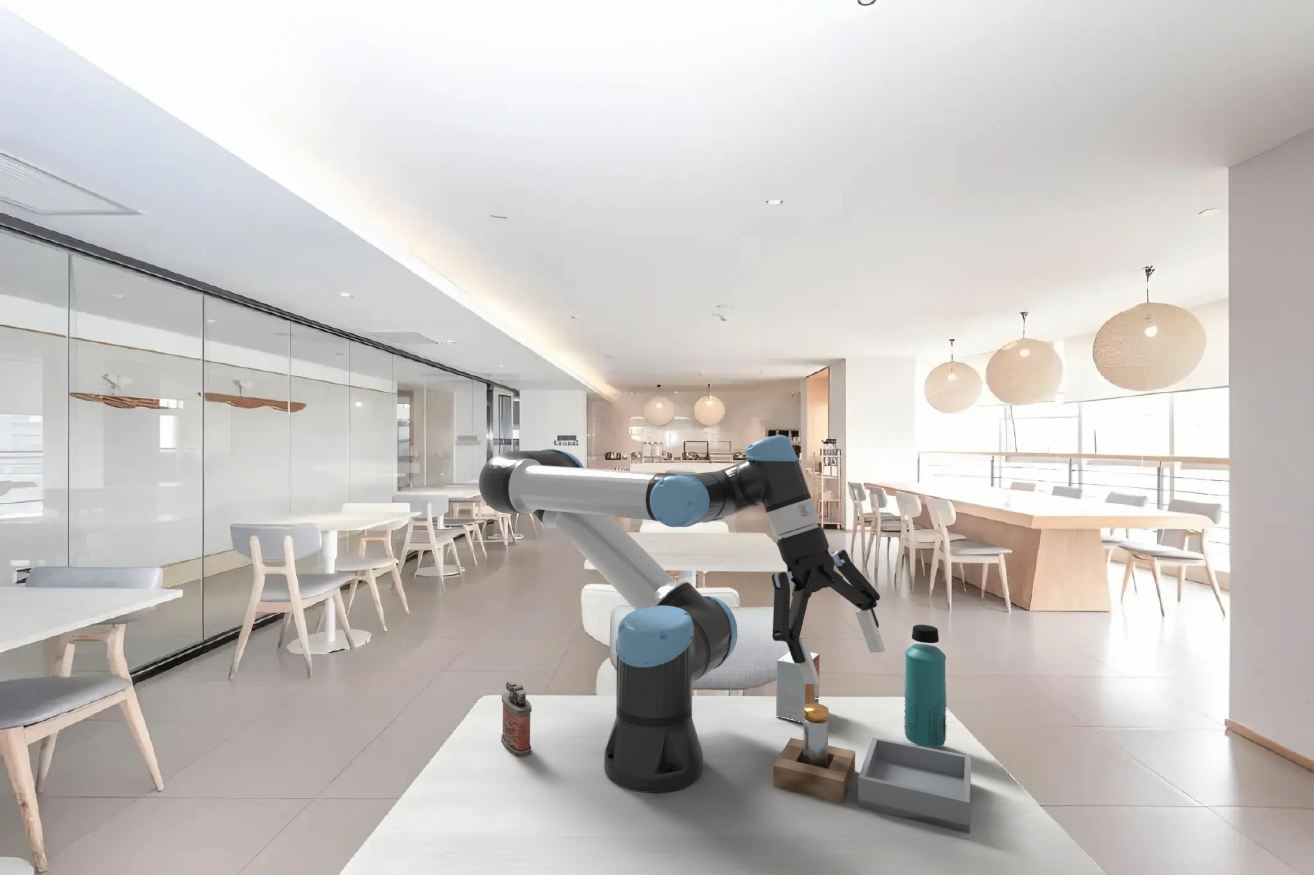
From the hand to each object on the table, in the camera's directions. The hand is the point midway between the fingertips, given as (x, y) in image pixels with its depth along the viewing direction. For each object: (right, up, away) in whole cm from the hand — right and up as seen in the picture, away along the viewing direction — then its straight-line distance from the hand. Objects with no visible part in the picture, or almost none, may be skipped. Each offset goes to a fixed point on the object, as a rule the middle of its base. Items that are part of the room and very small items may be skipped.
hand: (846, 667), depth 102 cm
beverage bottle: (+15, -17, +9) cm, 24 cm away
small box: (-3, -16, +22) cm, 28 cm away
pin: (-5, -16, -1) cm, 17 cm away
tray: (+8, -16, -5) cm, 19 cm away
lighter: (-52, -16, +8) cm, 55 cm away
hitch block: (-5, -16, -1) cm, 17 cm away
